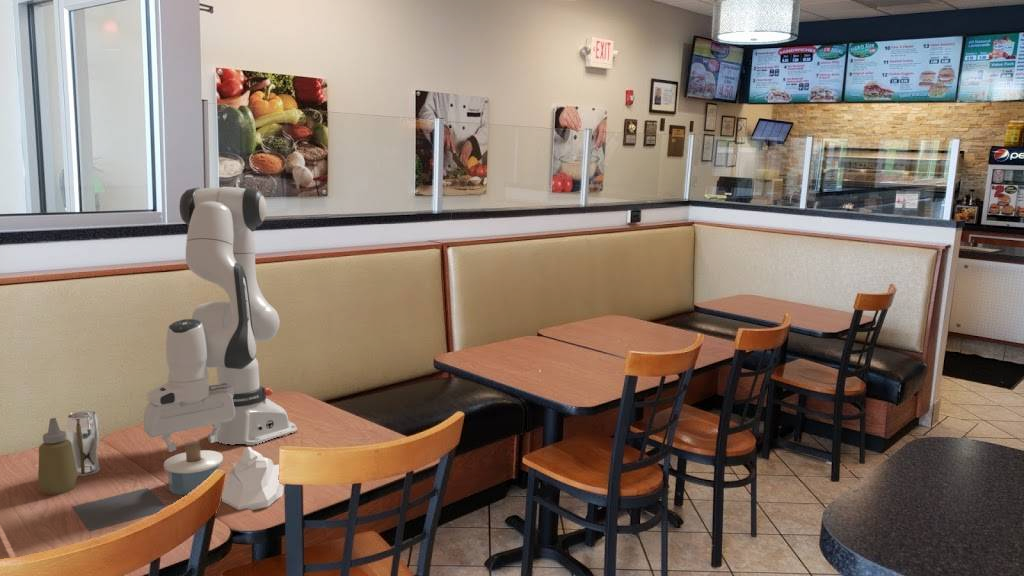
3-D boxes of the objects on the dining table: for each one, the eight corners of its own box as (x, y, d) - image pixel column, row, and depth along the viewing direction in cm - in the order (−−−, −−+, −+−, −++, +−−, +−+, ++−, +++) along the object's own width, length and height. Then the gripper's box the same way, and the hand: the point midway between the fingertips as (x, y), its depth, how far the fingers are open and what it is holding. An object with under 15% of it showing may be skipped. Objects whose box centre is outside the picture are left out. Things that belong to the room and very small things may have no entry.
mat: (147, 491, 185) (147, 487, 185) (169, 512, 173) (169, 509, 173) (72, 509, 175) (71, 506, 175) (90, 534, 163) (89, 530, 163)
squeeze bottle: (50, 486, 188) (43, 414, 185) (85, 485, 189) (79, 413, 186) (32, 499, 180) (25, 424, 178) (69, 498, 181) (62, 423, 178)
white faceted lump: (293, 510, 178) (286, 459, 172) (223, 526, 173) (214, 473, 167) (286, 478, 189) (280, 428, 183) (221, 491, 184) (212, 441, 178)
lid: (211, 449, 195) (210, 431, 194) (231, 464, 185) (230, 444, 184) (156, 462, 186) (155, 442, 185) (174, 477, 176) (173, 457, 176)
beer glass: (88, 478, 193) (83, 419, 191) (64, 475, 194) (59, 417, 192) (108, 467, 200) (103, 411, 198) (84, 465, 201) (79, 409, 199)
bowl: (210, 476, 194) (208, 451, 193) (226, 489, 186) (225, 463, 185) (163, 487, 187) (162, 462, 186) (179, 502, 179) (177, 475, 178)
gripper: (227, 379, 192) (231, 433, 194) (139, 394, 179) (143, 452, 181) (238, 384, 187) (241, 439, 189) (147, 400, 174) (152, 459, 176)
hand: (192, 446), depth 185 cm, fingers open, 8 cm apart
